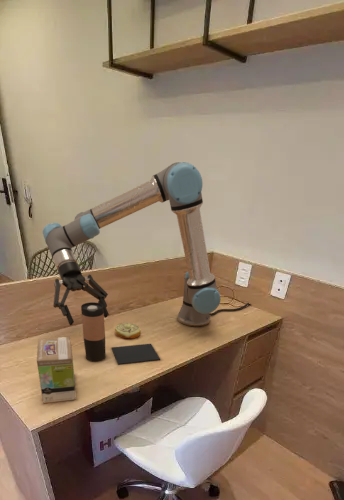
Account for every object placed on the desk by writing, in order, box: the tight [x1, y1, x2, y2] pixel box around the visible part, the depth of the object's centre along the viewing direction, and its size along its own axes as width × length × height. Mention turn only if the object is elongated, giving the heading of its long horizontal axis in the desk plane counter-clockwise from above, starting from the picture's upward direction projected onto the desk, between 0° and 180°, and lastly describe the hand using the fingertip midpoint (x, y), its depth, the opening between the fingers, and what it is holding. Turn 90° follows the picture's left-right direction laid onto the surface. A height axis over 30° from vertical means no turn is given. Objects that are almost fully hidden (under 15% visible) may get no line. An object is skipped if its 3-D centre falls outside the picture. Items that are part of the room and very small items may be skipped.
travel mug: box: [80, 301, 106, 363], centre depth 121 cm, size 8×8×20 cm
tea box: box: [36, 336, 77, 404], centre depth 105 cm, size 15×10×15 cm, turn 17°
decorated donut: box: [114, 322, 142, 340], centre depth 144 cm, size 10×11×4 cm
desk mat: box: [111, 343, 161, 366], centre depth 130 cm, size 16×13×1 cm
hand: (89, 319), depth 120 cm, fingers open, 13 cm apart
